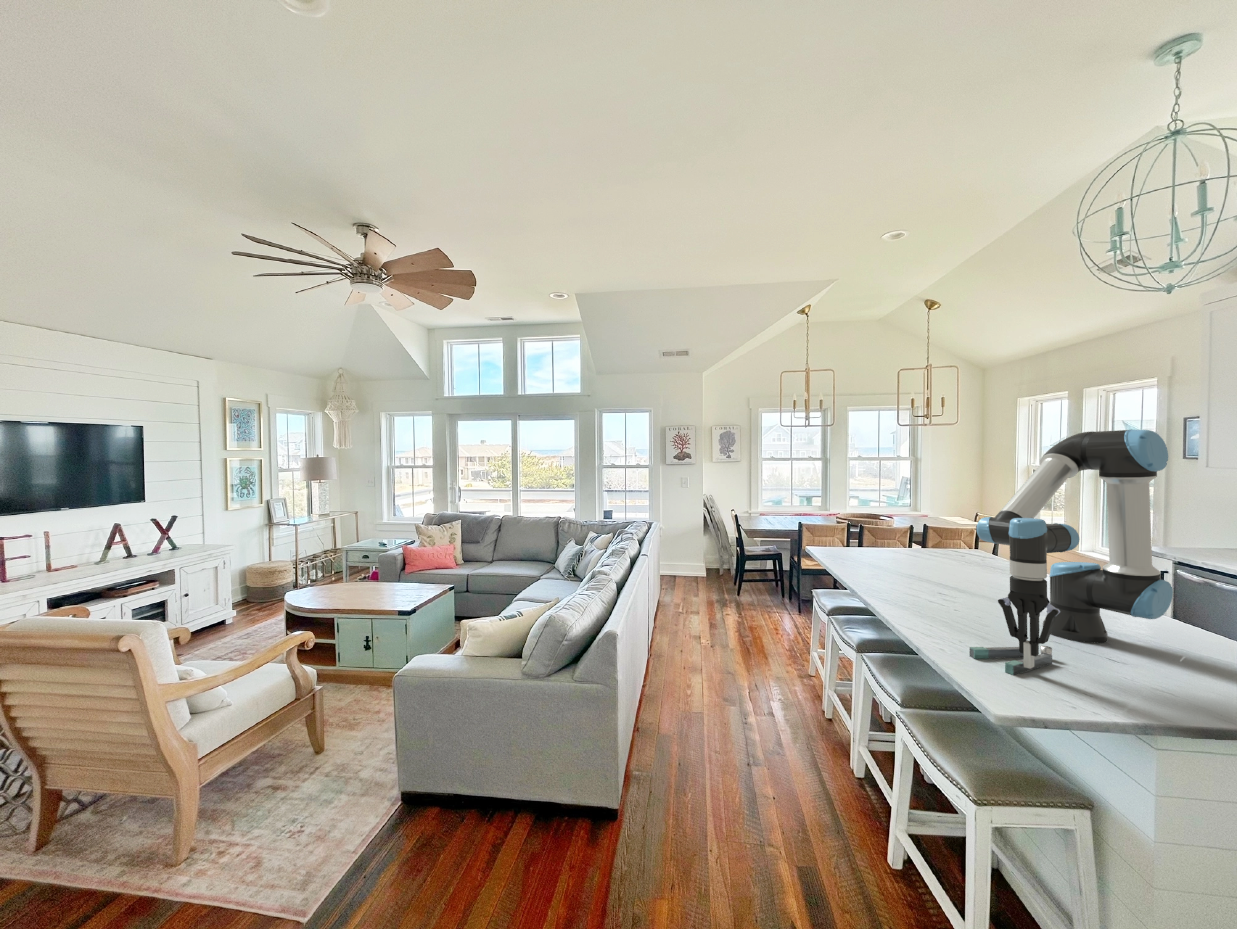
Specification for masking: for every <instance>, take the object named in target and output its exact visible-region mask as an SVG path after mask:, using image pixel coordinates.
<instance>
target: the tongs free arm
mask: <svg viewBox="0 0 1237 929" xmlns="http://www.w3.org/2000/svg"><path fill="white" fill-rule="evenodd" d="M1052 664H1053V654H1052V655H1050V654H1047V653H1043V654H1041V653H1039V654H1038V656H1036V657H1035V656H1034V667H1033V668H1031V669H1029V668H1025V667H1024V658H1021V659H1018V660H1016V659H1014V660H1013V659H1012V660H1010V661H1007V662H1005V663H1004V666H1005V667H1004V672H1005V673H1006V674H1008V675H1011V676H1016V675H1019V674H1022V673H1026V672H1029V671H1032V670H1035V669H1040V668H1042V667H1047V666H1050V665H1052Z"/></svg>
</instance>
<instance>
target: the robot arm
mask: <svg viewBox="0 0 1237 929" xmlns="http://www.w3.org/2000/svg"><path fill="white" fill-rule="evenodd" d="M1168 461H1169V451H1168V447H1167V444H1166V443H1165V441H1164V439H1163V438H1162V436H1160V435H1159V433H1157V432H1155V431H1153V430H1151V429H1132V428H1131V429H1123V430H1121V429H1120V430H1105V431H1104V430H1103V431H1102V430H1099V431H1083V432H1079V433H1076V434H1072V435H1071V436H1068V437H1066V438H1064V439H1063V440H1061V441H1059V442H1058V443H1056V444H1055V445H1053V446H1052V447H1050V448H1049V449H1048V450H1047V451H1046V452H1045V453H1044V454H1043V455H1042V456H1041V458H1040V459H1039V466H1038V467H1037V468H1036V469H1035V470H1034V471H1033V473H1032V474H1031V475H1030V476H1029V477H1028V478H1027V479H1026V481H1025V482H1024V483H1023V484H1022V485H1021V486H1020V488H1019V489H1018V490H1017V491H1016V492H1015V494H1013V496H1012V497H1011V498H1010V499H1009V500H1008V502H1006V504H1005V505H1004V506H1003V507H1002V508H1001V510H1000V511H999V512H998V513H997V514H996V515H995V517H992V516H986V517H985V516H984V517H981V518H980V519H979V521H978V522H977V524H976V533H977V536H978V538H979V539H980V540H981V541H983V542H987V543H992V544H995V545H1002V546H1003V545H1004V546H1009V574H1010V575H1011V576H1010V577H1009V593H1008V594H1007V596H1006V597H1002V598H999V599H998V600H997V603H998V604H999V606H1000V607H1001V608H1002V612H1003V615H1004V619H1005V622H1006V626H1007V628H1008V632H1009V635H1010V637H1013V638H1015V639H1017V640H1018V647H1019V651H1020V653H1024V658H1023V659H1024V667H1025V668H1029V669H1031V668H1033V667H1034V656H1035V657H1036V656H1038V655H1040V653H1039V652H1040V650H1039V649H1040V648H1039V646H1040V645H1044V644H1047V643H1048V641H1049V639H1050V636H1054V637H1058V638H1060V639H1063V640H1067V641H1068V640H1069V641H1074V642H1080V643H1086V644H1088V643H1089V644H1104V643H1107V642H1108V641H1109V639H1108V638H1109V634H1108V631H1107V629H1106V627H1105V624H1104V622H1103V619H1102V616H1101V609H1102V610H1105V611H1110V612H1113V613H1118V614H1124V615H1126V616H1131V617H1132V618H1142V619H1146V620H1157V619H1159V618H1161V617H1162V616H1164V615H1165V614H1166V612H1167V611H1168V610H1169V608H1170V606H1171V604H1172V600H1173V595H1174V594H1173V593H1174V591H1173V590H1174V589H1173V586H1172V584H1171V583H1170V582H1169V581H1167V580H1165V579H1162V578H1161V571H1160V570H1159V569H1158V568H1156V567H1155V566H1153V556H1152V555H1153V552H1152V551H1153V548H1152V528H1151V527H1152V523H1151V493H1150V483H1151V481H1153V480H1155V479H1156V478H1157V477H1158V472H1160V471H1163V470H1164V469H1165V468H1166V467H1167V465H1168ZM1086 470H1087V471H1089V470H1090V471H1091V470H1092V471H1098V478H1100V479H1101V480H1102V481H1105V483H1106V506H1107V508H1106V509H1107V526H1108V527H1107V530H1108V552H1109V553H1108V555H1109V561H1108V563H1106V564H1104V565H1103V566H1102V567H1101V565H1100V564H1099V563H1095V562H1084V561H1082V562H1081V561H1064V562H1063V561H1061V562H1055V563H1052V565H1051V566H1050V572H1049V598H1048V581H1047V580H1046V579H1047V577H1048V576H1047V575H1048V571H1047V570H1048V569H1047V568H1048V563H1047V556H1048V555H1047V554H1052V553H1053V554H1054V553H1065V552H1068V551H1072V550H1074V549H1075V548H1077V547H1078V545H1079V543H1080V535H1079V533H1078V531H1077V530H1076V529H1075V528H1074V527H1072V526H1071V525H1069V524H1065V523H1057V522H1054V523H1047V522H1046V521H1045V519H1040V518H1036V517H1037V515H1038V514H1039V513H1040V512H1041V510H1042V509H1043V508H1044V507H1045V506H1046V504H1047V503H1048V502H1049V501H1050V500H1051V499H1052V498H1053V496H1054V495H1055V494H1056V493H1057V492H1058V491H1059V490H1060V488H1061V487H1062V485H1063V484H1064V483H1065V482H1066V481H1067V480H1068V479H1071V478H1073V477H1075V476H1077V474H1078V473H1079V472H1081V471H1086ZM1012 605H1013V607H1015V608H1016V615H1017V621H1016V618H1015V615H1014V610H1013V607H1012ZM1045 609H1046V615H1045V618H1044V620H1043V621H1042V628H1041V632H1040V616H1041V613H1042V612H1043V611H1044V610H1045ZM1028 618H1029V636H1028ZM1028 639H1029V640H1028Z"/></svg>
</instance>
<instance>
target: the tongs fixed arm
mask: <svg viewBox="0 0 1237 929" xmlns="http://www.w3.org/2000/svg"><path fill="white" fill-rule="evenodd" d="M1043 653H1047V654H1050V655H1052V656H1053V647H1051V646H1046V645H1041V646H1040V654H1043ZM969 657H970V658H972V659H974V660H987V659H1016V658H1017V659H1018V658H1019V659H1020V658H1021V659H1024V653H1020V651H1019V646H1005V647H1004V646H1001V647H1000V646H996V647H992V646H991V647H984V646H969Z"/></svg>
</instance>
